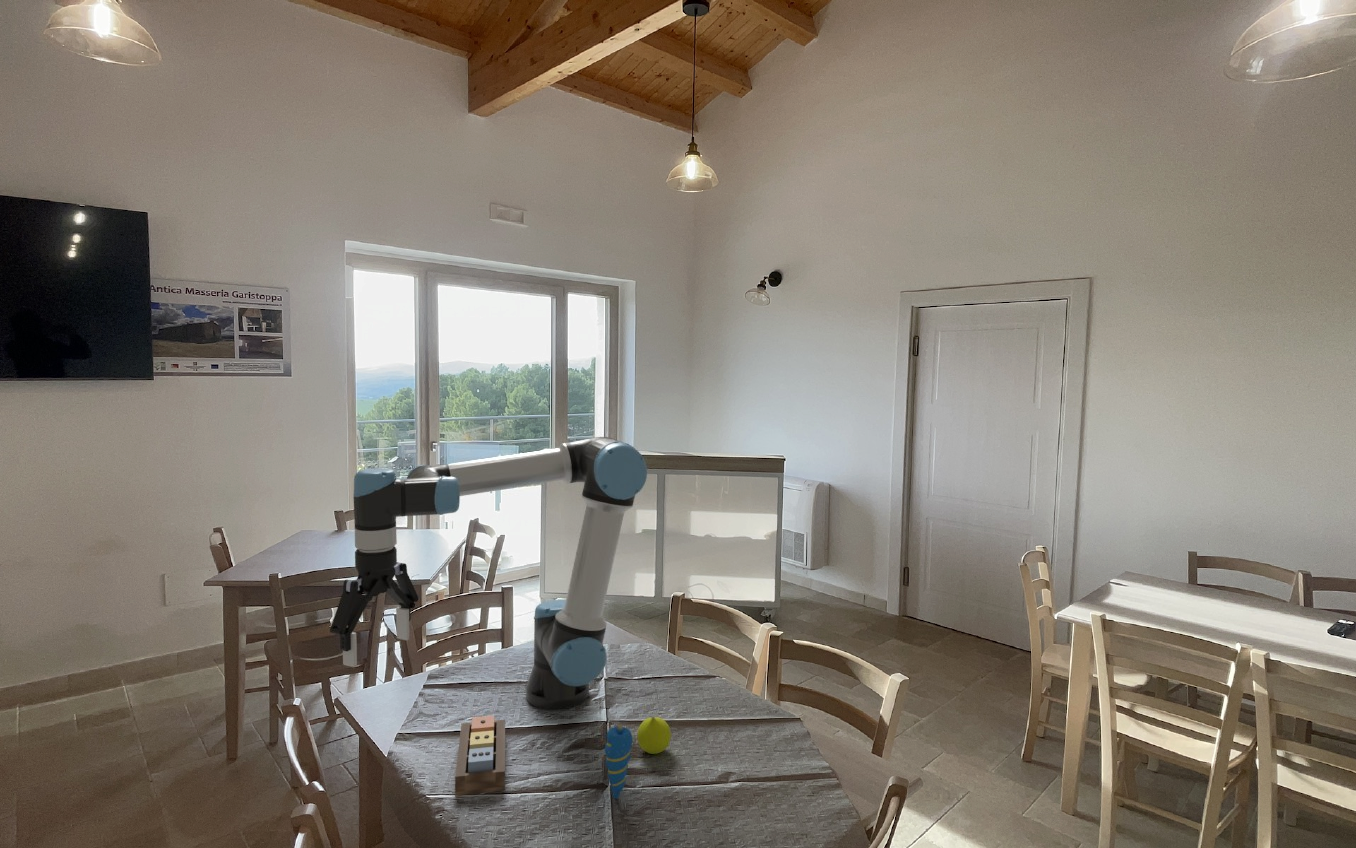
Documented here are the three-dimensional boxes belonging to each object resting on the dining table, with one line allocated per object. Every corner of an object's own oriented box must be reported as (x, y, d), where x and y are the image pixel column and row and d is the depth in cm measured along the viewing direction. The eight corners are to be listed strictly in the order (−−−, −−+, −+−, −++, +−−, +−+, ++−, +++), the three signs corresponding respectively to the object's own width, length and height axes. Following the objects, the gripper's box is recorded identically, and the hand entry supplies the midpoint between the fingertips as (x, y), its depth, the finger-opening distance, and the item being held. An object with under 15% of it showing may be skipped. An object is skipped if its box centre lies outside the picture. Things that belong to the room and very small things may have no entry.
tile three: (493, 761, 135) (493, 746, 135) (492, 774, 131) (492, 759, 130) (469, 763, 134) (469, 748, 134) (468, 777, 130) (468, 761, 129)
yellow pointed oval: (644, 764, 140) (645, 717, 139) (631, 746, 147) (633, 701, 146) (675, 756, 143) (677, 710, 142) (662, 739, 150) (663, 695, 149)
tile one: (494, 729, 147) (494, 714, 146) (493, 740, 142) (493, 725, 142) (472, 731, 146) (472, 716, 145) (471, 742, 141) (471, 728, 141)
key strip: (504, 736, 149) (505, 719, 148) (504, 790, 130) (505, 771, 130) (461, 740, 146) (461, 723, 146) (455, 796, 128) (455, 776, 128)
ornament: (603, 790, 131) (605, 715, 130) (630, 789, 132) (632, 715, 130) (603, 807, 126) (605, 730, 125) (631, 807, 127) (633, 729, 125)
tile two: (493, 744, 141) (493, 729, 141) (493, 756, 136) (493, 741, 136) (470, 746, 140) (470, 732, 139) (469, 759, 135) (469, 744, 135)
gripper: (407, 531, 148) (408, 626, 150) (306, 562, 125) (309, 674, 127) (435, 535, 145) (436, 632, 147) (337, 567, 122) (340, 682, 124)
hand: (377, 651), depth 137 cm, fingers open, 13 cm apart
